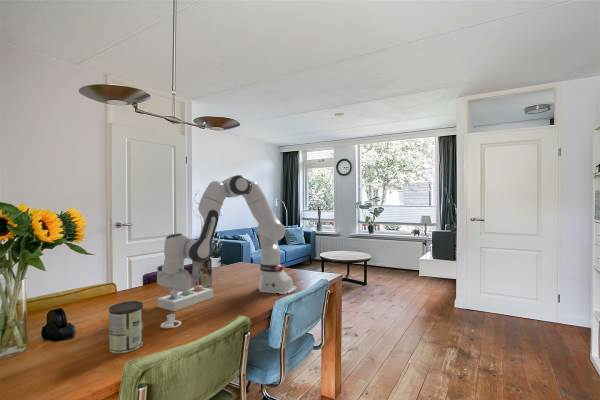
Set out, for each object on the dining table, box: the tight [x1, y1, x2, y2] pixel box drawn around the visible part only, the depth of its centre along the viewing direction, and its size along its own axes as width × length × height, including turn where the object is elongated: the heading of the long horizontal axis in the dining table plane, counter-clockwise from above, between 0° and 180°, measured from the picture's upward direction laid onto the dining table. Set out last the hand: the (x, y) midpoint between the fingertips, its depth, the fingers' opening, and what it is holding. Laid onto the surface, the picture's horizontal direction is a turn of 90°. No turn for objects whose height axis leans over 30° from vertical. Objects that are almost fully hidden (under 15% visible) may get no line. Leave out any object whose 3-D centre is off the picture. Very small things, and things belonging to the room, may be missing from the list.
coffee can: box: [108, 300, 144, 354], centre depth 108 cm, size 10×10×14 cm
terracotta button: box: [194, 285, 203, 292], centre depth 161 cm, size 4×4×3 cm
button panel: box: [157, 286, 214, 312], centre depth 155 cm, size 24×12×4 cm, turn 150°
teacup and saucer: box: [160, 313, 182, 329], centre depth 126 cm, size 9×8×4 cm
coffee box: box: [191, 257, 213, 288], centre depth 182 cm, size 9×6×16 cm
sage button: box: [181, 289, 191, 296], centre depth 155 cm, size 4×4×3 cm
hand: (173, 296), depth 148 cm, fingers closed, pressing on blue button
